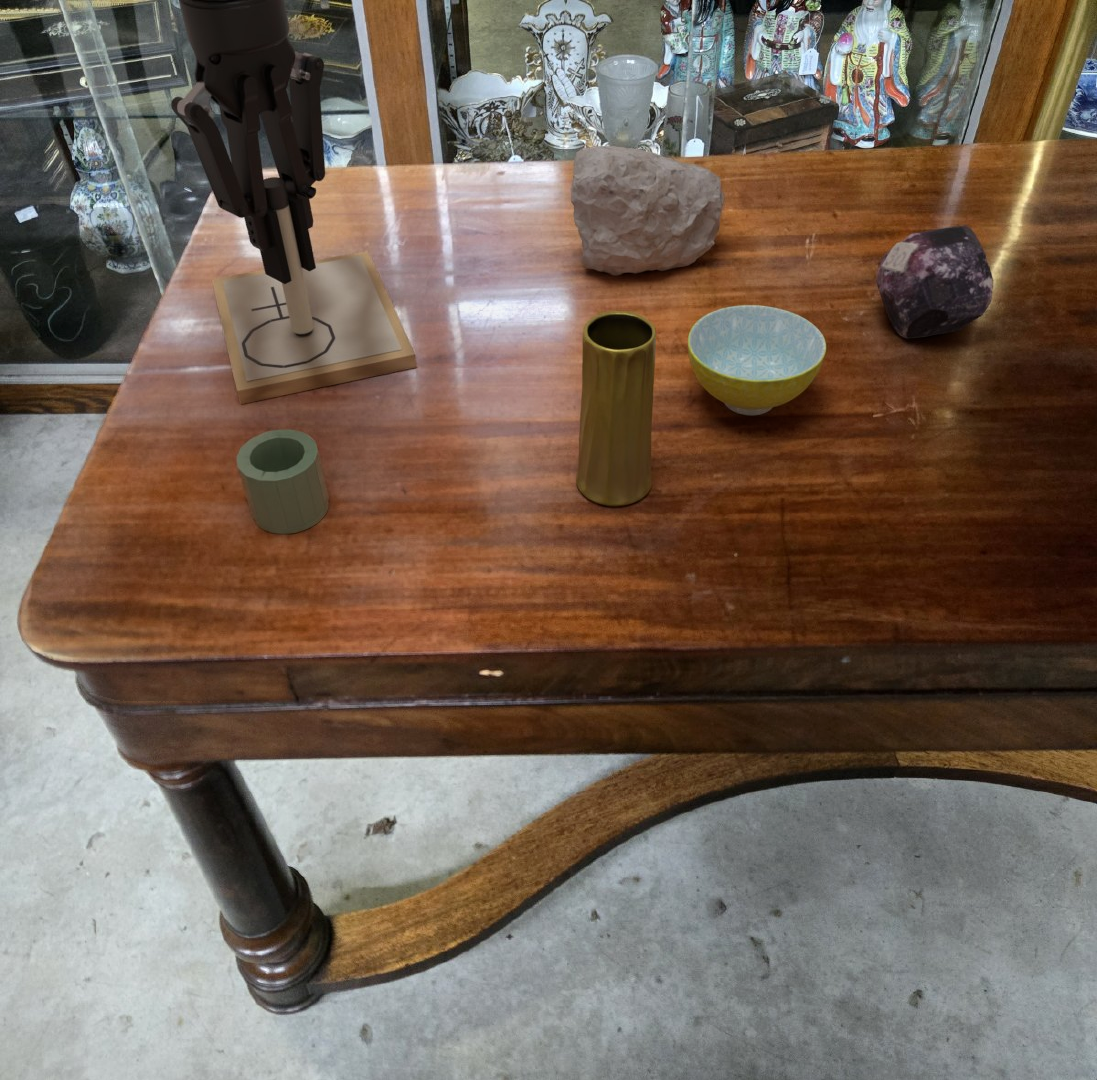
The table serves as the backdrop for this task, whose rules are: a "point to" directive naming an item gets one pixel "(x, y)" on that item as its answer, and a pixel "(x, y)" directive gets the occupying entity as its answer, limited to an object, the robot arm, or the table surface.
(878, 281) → the mineral specimen
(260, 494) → the pencil pot
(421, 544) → the table surface
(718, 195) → the rough grey rock
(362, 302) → the sketch board
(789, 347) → the bowl
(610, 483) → the vase
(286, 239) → the pen
